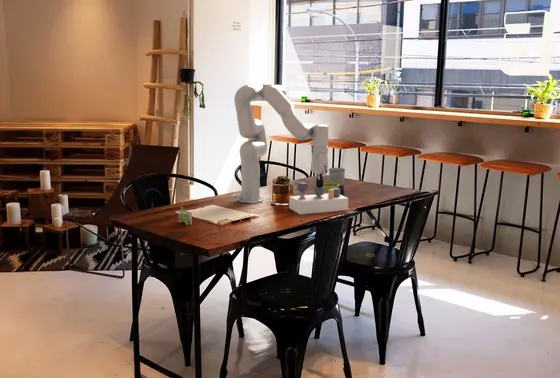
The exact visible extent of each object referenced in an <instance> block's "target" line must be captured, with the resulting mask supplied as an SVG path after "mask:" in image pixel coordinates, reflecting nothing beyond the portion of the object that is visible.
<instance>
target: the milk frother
mask: <svg viewBox="0 0 560 378" xmlns="http://www.w3.org/2000/svg"><path fill="white" fill-rule="evenodd" d="M345 171H346V168H344V167H328V183H336V184H339V187H338V188H340V195H342V196H344V197H345Z"/></svg>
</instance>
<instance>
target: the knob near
mask: <svg viewBox="0 0 560 378" xmlns="http://www.w3.org/2000/svg"><path fill="white" fill-rule="evenodd" d="M296 184H297V185H296V186H297V190H296V191H299V196H300V200H303V199H304V198H305V195H306V194H305V193H306V192H307V191H308V190H309V189H308V188H309V187H308V184H309V183H308V182H306V181H300V182H297V183H296Z"/></svg>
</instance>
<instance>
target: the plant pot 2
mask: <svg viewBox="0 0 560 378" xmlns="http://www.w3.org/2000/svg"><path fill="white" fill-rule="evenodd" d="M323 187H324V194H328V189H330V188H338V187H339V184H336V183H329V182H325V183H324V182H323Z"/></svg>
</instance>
